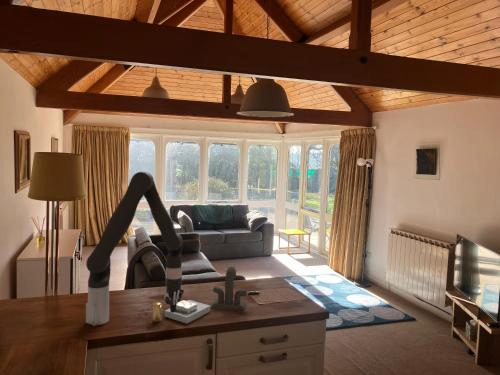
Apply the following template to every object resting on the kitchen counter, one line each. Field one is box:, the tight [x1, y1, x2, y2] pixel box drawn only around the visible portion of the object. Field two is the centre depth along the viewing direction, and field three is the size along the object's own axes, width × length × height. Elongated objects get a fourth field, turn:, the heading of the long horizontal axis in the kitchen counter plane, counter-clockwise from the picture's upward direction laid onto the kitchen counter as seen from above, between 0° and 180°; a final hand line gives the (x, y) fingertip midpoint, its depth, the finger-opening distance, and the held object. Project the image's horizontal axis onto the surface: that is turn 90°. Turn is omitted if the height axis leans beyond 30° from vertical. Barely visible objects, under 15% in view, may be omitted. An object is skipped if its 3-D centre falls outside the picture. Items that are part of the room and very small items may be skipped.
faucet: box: [210, 265, 248, 311], centre depth 211 cm, size 18×16×20 cm
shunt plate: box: [176, 299, 197, 313], centre depth 194 cm, size 7×9×2 cm
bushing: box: [152, 301, 163, 323], centre depth 187 cm, size 4×4×8 cm
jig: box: [164, 299, 211, 324], centre depth 196 cm, size 18×14×3 cm
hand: (173, 311), depth 186 cm, fingers closed
